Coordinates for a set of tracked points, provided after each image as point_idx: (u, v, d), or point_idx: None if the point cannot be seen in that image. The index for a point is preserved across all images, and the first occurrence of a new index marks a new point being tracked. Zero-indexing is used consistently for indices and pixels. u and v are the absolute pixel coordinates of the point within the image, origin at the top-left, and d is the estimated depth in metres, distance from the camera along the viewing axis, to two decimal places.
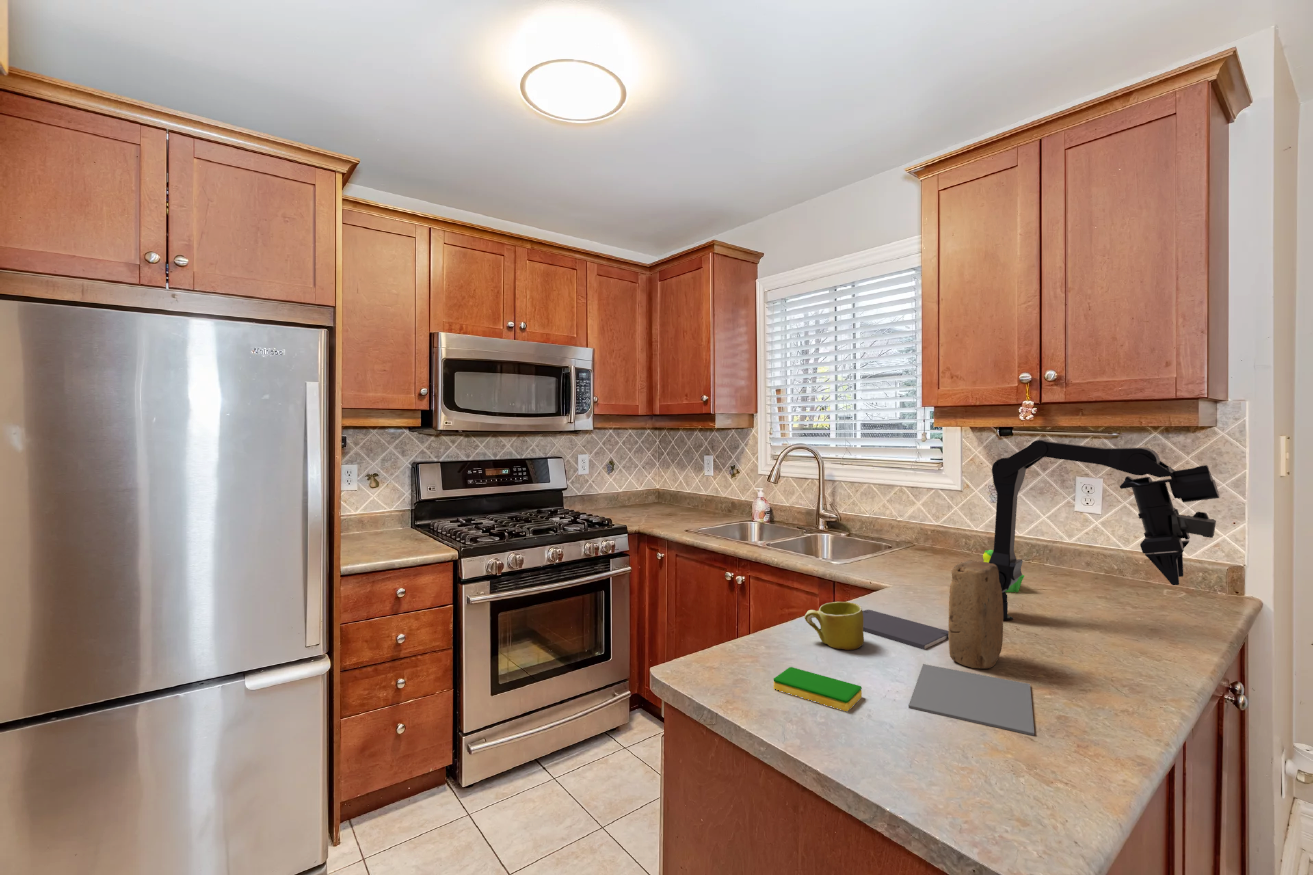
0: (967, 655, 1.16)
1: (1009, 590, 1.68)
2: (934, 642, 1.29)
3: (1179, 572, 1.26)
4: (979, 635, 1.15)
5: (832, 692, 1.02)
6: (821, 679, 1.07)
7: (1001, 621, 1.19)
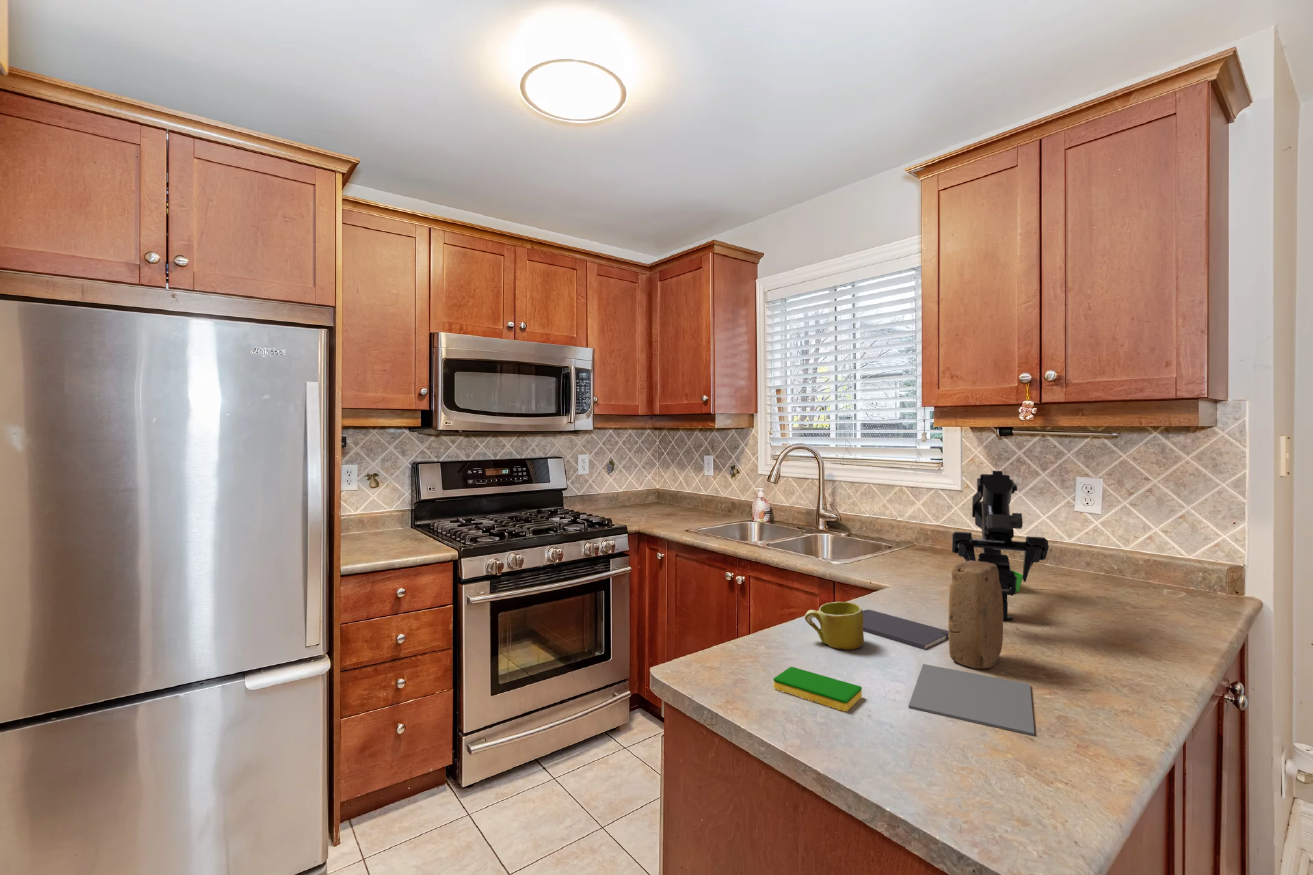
0: (967, 655, 1.16)
1: None
2: (934, 642, 1.29)
3: (1023, 576, 1.29)
4: (979, 635, 1.15)
5: (831, 692, 1.02)
6: (821, 679, 1.07)
7: (1001, 621, 1.19)
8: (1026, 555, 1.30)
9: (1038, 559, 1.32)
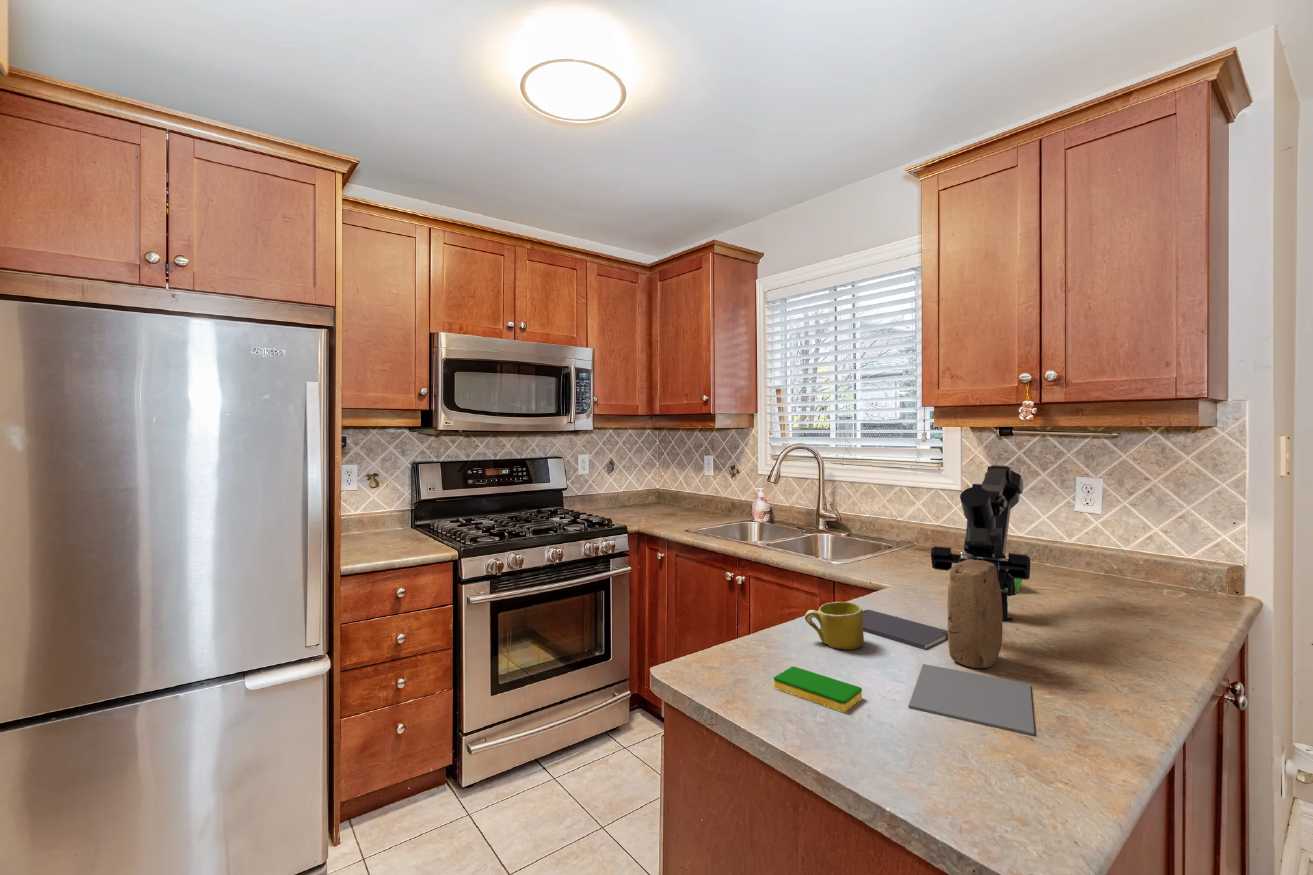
0: (967, 655, 1.16)
1: None
2: (934, 642, 1.29)
3: None
4: (979, 636, 1.14)
5: (830, 692, 1.02)
6: (822, 679, 1.07)
7: (1000, 619, 1.18)
8: None
9: None
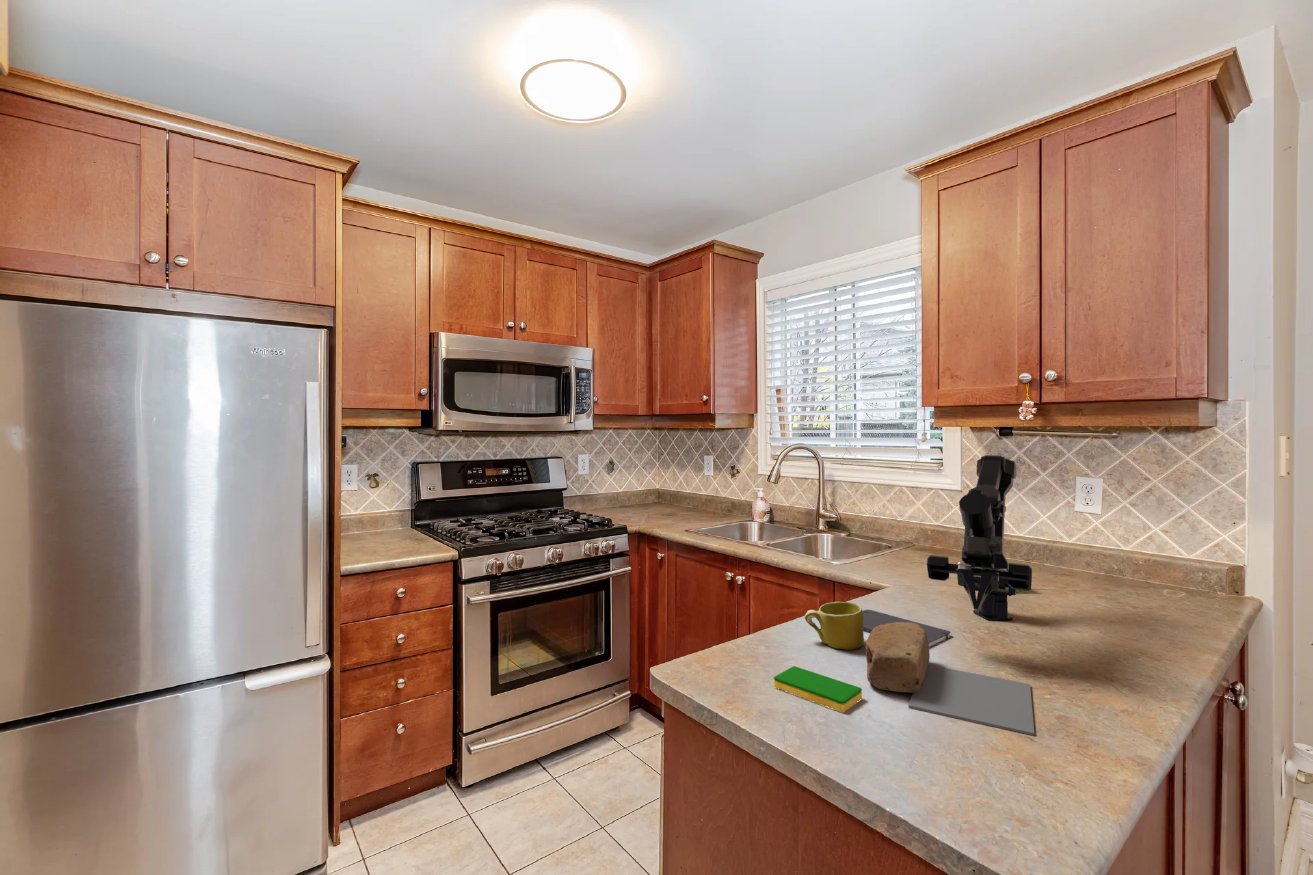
0: None
1: None
2: (934, 642, 1.29)
3: None
4: (925, 637, 1.14)
5: (829, 692, 1.02)
6: (822, 679, 1.07)
7: (880, 632, 1.17)
8: (981, 581, 1.19)
9: (996, 586, 1.20)
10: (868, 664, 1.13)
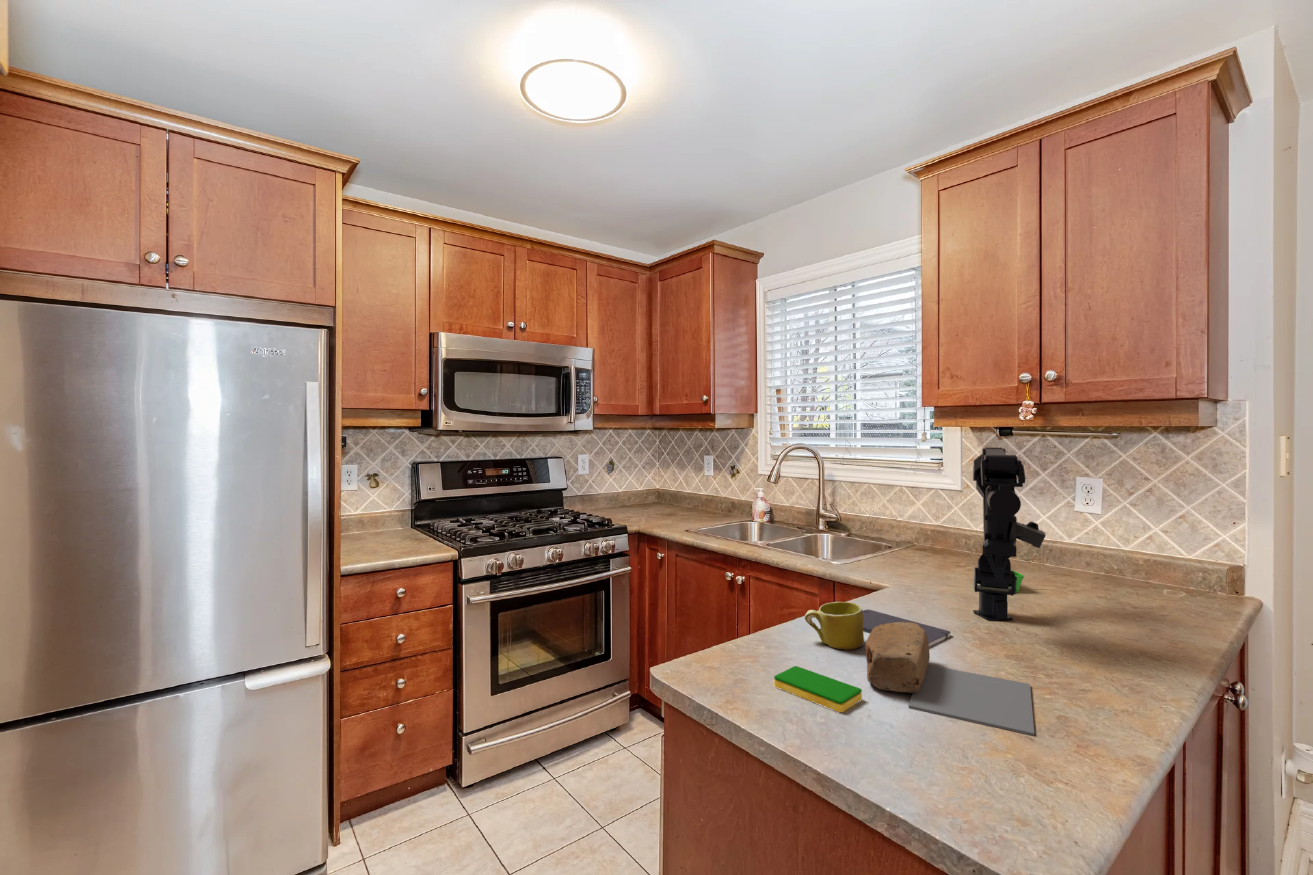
0: None
1: None
2: (934, 642, 1.29)
3: None
4: (925, 637, 1.14)
5: (828, 692, 1.02)
6: (822, 679, 1.07)
7: (880, 632, 1.17)
8: None
9: None
10: (868, 664, 1.13)
